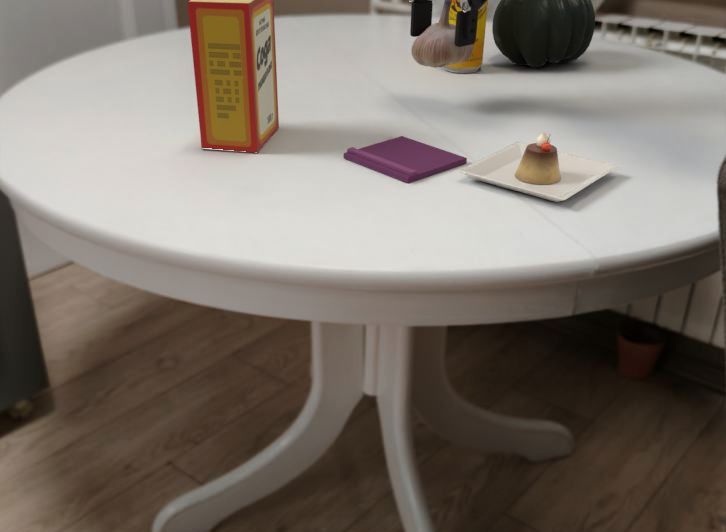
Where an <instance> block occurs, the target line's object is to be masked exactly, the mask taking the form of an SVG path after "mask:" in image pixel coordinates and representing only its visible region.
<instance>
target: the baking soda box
mask: <svg viewBox="0 0 726 532" xmlns="http://www.w3.org/2000/svg"><path fill="white" fill-rule="evenodd" d="M274 2H275V1H274V0H188V1H187V11H188V20H189V21H188V22H189V30H190V41H191V51H192V62H193V73H194V81H195V82H194V83H195V93H196V103H197V115H198V123H199V124H198V126H199V135H200V144H201V146H200V147H201V149H202V148H212V149H223V150H234V151H246V152H258V151H259V150H260V149H261V148H262V149H263V147H264V146H265V145H266V144H267V143H268V141H269V140H270V139H271V138H272V137H273V135H274V134H275V133H276V132H277V131H278V129H279V128H280V123H279V120H280V119H279V98H278V97H279V95H278V77H277V75H278V74H277V51H276V49H277V48H276V29H275V27H276V26H275V7H274V6H275V5H274ZM276 130H277V131H276ZM275 131H276V132H275ZM271 136H272V137H271ZM270 137H271V138H270ZM269 138H270V139H269ZM268 139H269V140H268ZM267 140H268V141H267ZM266 142H267V143H266ZM265 143H266V144H265ZM264 144H265V145H264ZM263 145H264V146H263ZM262 146H263V147H262ZM262 149H261V150H262ZM261 150H260V151H261ZM260 151H259V152H260ZM259 152H258V153H259Z"/></svg>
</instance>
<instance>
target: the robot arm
mask: <svg viewBox="0 0 726 532" xmlns="http://www.w3.org/2000/svg"><path fill="white" fill-rule="evenodd" d="M486 1H487V0H459V2H460V6H461V9H462V11H457V15H456V29H455V46H457V47H462V46H467V45H471V44H474V43H475V41H476V34H477V22H478V10H480V9H482V8H483V6H484V3H485V2H486ZM408 2H409V3H411V5H410V28H409V29H410V31H409V35H410V36H411V37H414V38H417V37H418V36H420V35H421V34H422V33H423V32H424V31H425V30H426V29H427V28H428V27H429V26H431V25H432V24H433V23H432V21H433V20H432V19H433V4H434V3H433V0H408Z"/></svg>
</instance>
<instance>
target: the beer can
mask: <svg viewBox="0 0 726 532" xmlns="http://www.w3.org/2000/svg"><path fill="white" fill-rule="evenodd" d="M488 3H489V0H487V1H486V2H485V3H484V6H483V8H482V9H480V10H478V22H477V34H476V41H475V43H474V44H473V52H472V54H471V56H470V58H469V59H468V60H467V61H465V62H463V63H455V64H450V65H445V66H443V67H444V70H445V71H447V72H450V73H455V74H471V73H475V72H477V71H479V68H480V67H482V66H483V59H484V50H485V49H484V48H485V37H486V26H487V17H488V16H487V15H488V5H489V4H488ZM457 11H462V9H461V6H460V2H459V0H452V3H451V7H450V11H449V24H453V25H455V26H456V15H457Z"/></svg>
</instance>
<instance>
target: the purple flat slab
mask: <svg viewBox="0 0 726 532" xmlns="http://www.w3.org/2000/svg"><path fill="white" fill-rule="evenodd" d="M343 159H345V160H347V161H350V162H353V163H355V164H358V165H360V166H363V167H366V168H368V169H371V170H373V171H376V172H379V173H381V174H383V175H386V176H389V177H391V178H393V179H397V180H399V181H402V182H404V183H406V184H409V183H412V182H416V181H419V180H421V179H424V178H428V177H430V176H433V175H436V174H439V173H441V172H444V171H448V170H450V169H453V168H456V167H458V166H462V165H465V164H467V161H468V157H467V156H466V157H465V156H462V155H460V154H457V153H453V152H450V151H448V150H445V149H442V148H438V147H435V146H433V145H430V144H427V143H424V142H421V141H418V140H416V139H413V138H409V137H407V136H403V135H401V136H397V137H394V138H393V137H392V138H390V139H386V140H383V141H380V142H377V143H373V144H369V145H367V146H364V147H360V148H356V147H354V146H350V147H348V148H346V151H345V152H343Z"/></svg>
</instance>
